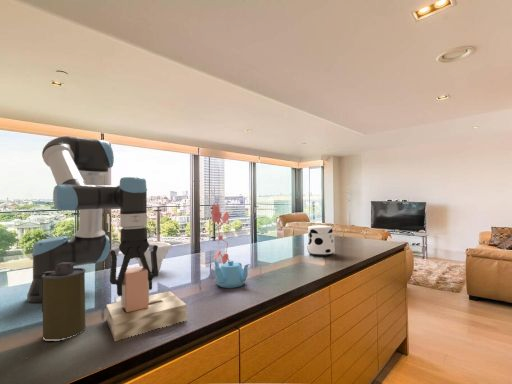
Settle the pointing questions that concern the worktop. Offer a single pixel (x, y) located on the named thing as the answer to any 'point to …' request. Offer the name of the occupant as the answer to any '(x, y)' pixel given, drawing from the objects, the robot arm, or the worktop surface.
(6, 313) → the worktop surface
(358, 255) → the worktop surface
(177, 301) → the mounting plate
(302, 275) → the worktop surface
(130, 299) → the stud block
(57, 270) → the canister
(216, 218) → the pink leafy branch
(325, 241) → the milk container
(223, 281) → the teapot
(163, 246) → the bowl
